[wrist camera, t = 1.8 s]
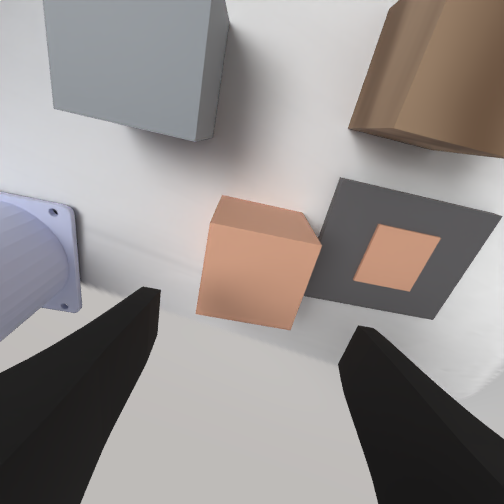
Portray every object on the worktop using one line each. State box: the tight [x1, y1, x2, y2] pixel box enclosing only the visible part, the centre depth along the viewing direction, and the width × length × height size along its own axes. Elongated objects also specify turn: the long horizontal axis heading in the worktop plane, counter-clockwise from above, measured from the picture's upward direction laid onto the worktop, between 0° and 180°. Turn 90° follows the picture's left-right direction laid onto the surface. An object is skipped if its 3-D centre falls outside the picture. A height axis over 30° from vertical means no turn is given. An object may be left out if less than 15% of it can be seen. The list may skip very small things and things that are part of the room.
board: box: [303, 177, 502, 320], centre depth 17 cm, size 10×8×1 cm
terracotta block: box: [196, 195, 322, 330], centre depth 14 cm, size 5×5×5 cm
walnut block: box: [348, 0, 504, 158], centre depth 11 cm, size 5×5×5 cm
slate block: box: [43, 0, 229, 142], centre depth 10 cm, size 5×5×5 cm
